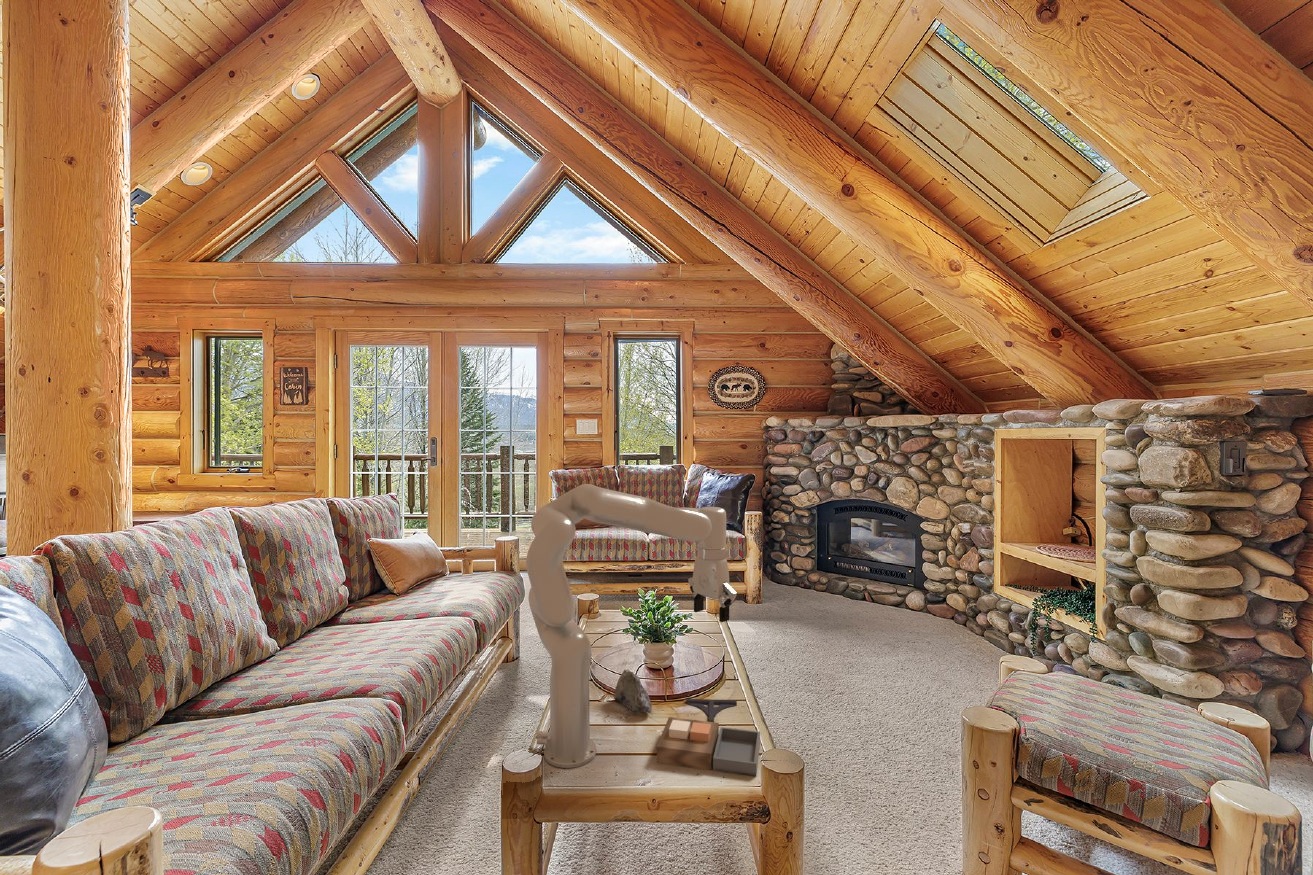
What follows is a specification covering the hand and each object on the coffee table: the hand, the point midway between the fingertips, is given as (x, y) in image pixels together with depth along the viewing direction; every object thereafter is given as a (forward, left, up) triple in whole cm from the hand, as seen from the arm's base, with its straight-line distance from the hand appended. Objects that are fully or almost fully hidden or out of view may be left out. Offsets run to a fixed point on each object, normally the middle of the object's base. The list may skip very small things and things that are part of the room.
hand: (711, 615), depth 164 cm
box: (+9, -16, -28) cm, 34 cm away
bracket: (0, +1, -29) cm, 29 cm away
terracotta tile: (0, -17, -24) cm, 29 cm away
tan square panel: (-3, -17, -28) cm, 33 cm away
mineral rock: (-22, 0, -29) cm, 36 cm away
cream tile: (-5, -17, -24) cm, 30 cm away
